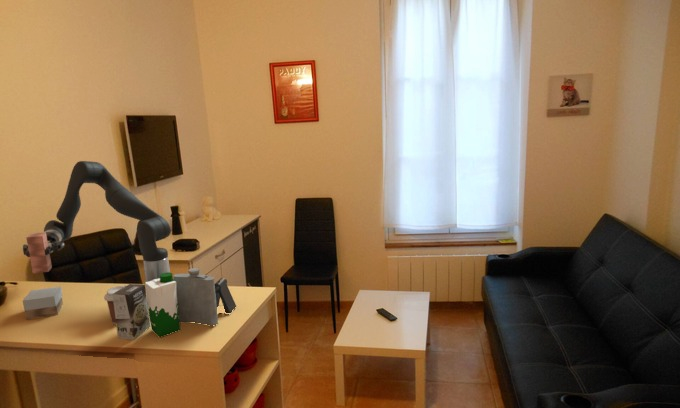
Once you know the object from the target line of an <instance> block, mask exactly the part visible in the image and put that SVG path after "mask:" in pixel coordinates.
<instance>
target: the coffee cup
mask: <svg viewBox="0 0 680 408" xmlns="http://www.w3.org/2000/svg"><path fill="white" fill-rule="evenodd" d="M125 286H126V285H118V286H114V287H110V288H109V289H107V291H106V294H104V296H103V297H104V301H106V302H107V307H108V311H109V314H110V315H109V316H110V319H111V323H112V324H113V325H116V318H115V310H114V302H113V293H115V292H117V291H118V290H120V289H122V288H124V287H125Z"/></svg>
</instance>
